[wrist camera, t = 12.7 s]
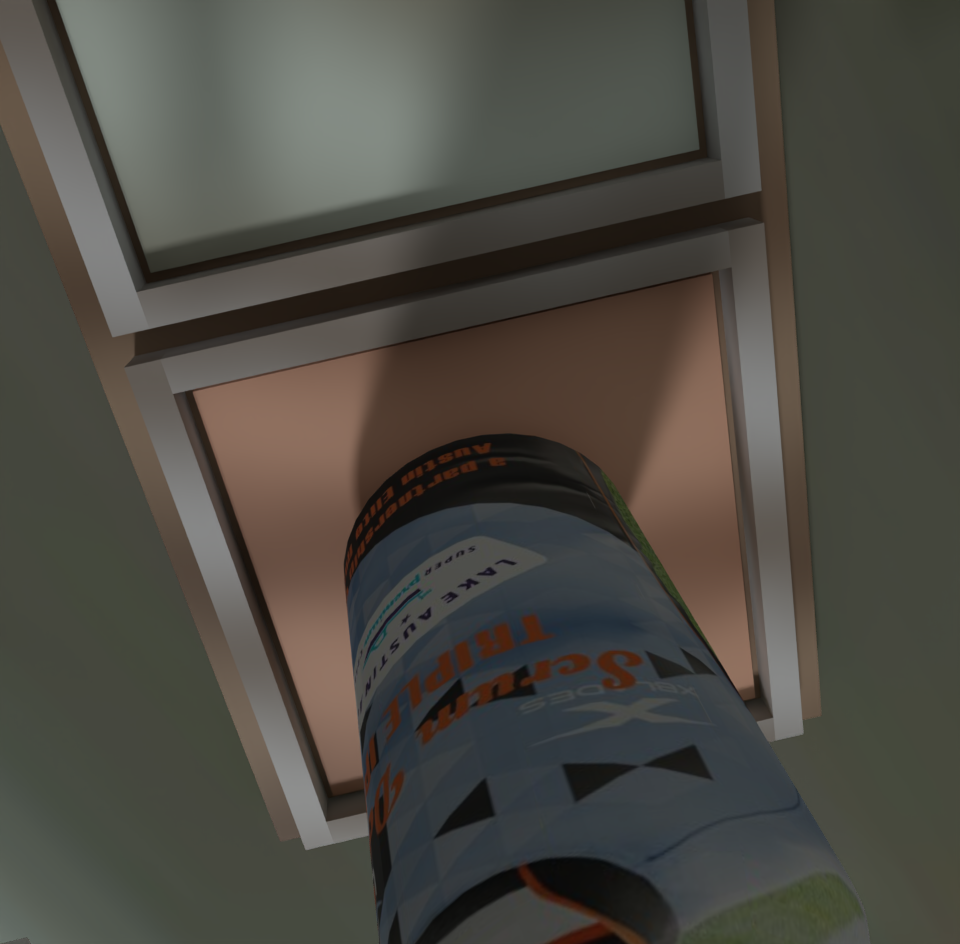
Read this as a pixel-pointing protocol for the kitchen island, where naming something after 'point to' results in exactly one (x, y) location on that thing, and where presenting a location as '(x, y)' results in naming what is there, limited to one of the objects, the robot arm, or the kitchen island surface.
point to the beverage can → (560, 725)
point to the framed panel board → (424, 304)
